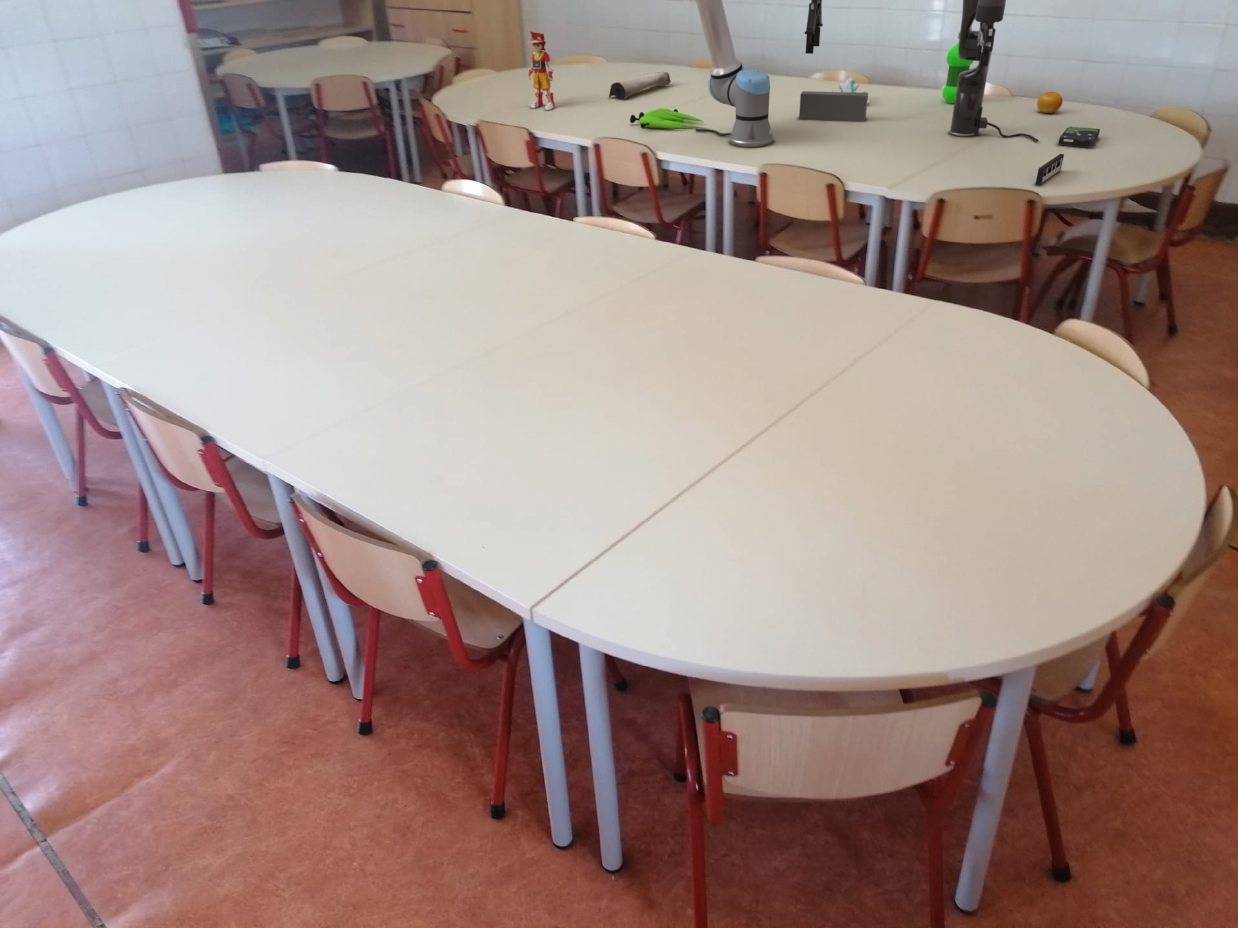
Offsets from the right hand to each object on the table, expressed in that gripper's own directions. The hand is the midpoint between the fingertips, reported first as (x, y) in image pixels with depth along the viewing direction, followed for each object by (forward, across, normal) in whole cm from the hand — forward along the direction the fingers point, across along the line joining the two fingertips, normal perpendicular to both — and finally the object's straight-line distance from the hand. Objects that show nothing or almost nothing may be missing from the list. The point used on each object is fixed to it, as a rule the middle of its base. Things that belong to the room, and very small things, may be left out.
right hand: (981, 63), depth 266 cm
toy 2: (+32, +55, +102) cm, 121 cm away
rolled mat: (+32, +111, +125) cm, 170 cm away
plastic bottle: (+32, +90, -6) cm, 95 cm away
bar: (+32, +65, +41) cm, 83 cm away
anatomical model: (+32, +90, +34) cm, 101 cm away
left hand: (+8, +66, +50) cm, 84 cm away
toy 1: (+32, +84, +162) cm, 186 cm away
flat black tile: (+32, -6, -24) cm, 40 cm away
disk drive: (+32, +34, -40) cm, 62 cm away
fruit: (+32, +73, -38) cm, 88 cm away
